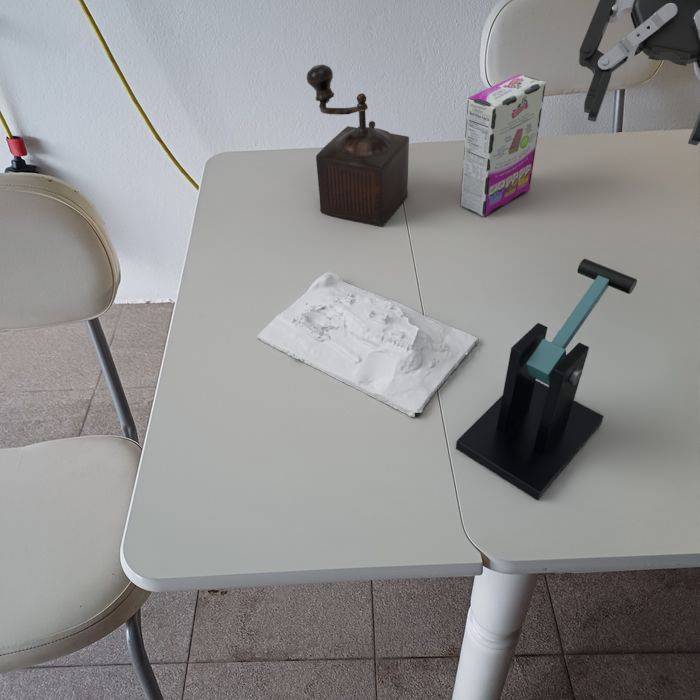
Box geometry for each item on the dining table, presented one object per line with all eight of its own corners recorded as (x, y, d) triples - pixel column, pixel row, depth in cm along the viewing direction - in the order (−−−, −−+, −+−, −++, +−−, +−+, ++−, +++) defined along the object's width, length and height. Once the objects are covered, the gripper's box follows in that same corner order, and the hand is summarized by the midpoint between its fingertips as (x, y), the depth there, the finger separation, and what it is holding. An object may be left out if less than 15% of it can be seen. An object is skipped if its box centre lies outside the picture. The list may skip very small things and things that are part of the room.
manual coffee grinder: (411, 192, 99) (415, 72, 87) (383, 228, 92) (383, 102, 80) (322, 174, 104) (313, 58, 92) (288, 207, 97) (274, 86, 85)
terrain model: (318, 283, 85) (314, 250, 81) (486, 328, 75) (489, 293, 72) (244, 359, 74) (236, 325, 71) (428, 423, 65) (429, 387, 61)
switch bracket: (522, 381, 69) (540, 293, 61) (601, 423, 64) (632, 334, 56) (455, 448, 62) (466, 360, 54) (537, 500, 58) (562, 412, 50)
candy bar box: (503, 180, 101) (518, 72, 90) (530, 191, 98) (549, 81, 87) (456, 206, 96) (466, 95, 85) (483, 218, 93) (497, 105, 82)
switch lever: (585, 267, 61) (585, 252, 59) (636, 287, 58) (638, 273, 56) (514, 367, 59) (511, 356, 56) (564, 393, 56) (563, 382, 54)
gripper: (630, -108, 51) (559, 100, 54) (829, -81, 47) (742, 141, 50) (621, -59, 58) (559, 122, 61) (794, -32, 54) (719, 160, 57)
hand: (642, 130), depth 55 cm, fingers open, 8 cm apart
